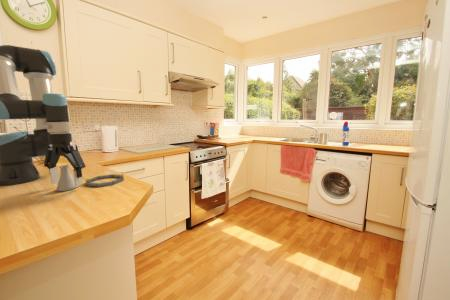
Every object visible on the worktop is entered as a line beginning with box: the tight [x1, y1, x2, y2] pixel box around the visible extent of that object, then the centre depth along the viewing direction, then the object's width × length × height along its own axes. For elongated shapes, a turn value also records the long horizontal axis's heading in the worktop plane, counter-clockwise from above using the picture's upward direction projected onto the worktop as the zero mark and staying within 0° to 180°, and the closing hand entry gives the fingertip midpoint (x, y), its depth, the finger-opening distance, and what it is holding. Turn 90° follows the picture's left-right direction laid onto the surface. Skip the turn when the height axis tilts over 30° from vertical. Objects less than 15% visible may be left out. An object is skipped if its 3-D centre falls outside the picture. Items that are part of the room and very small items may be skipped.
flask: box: [55, 164, 79, 192], centre depth 89 cm, size 7×7×10 cm
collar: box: [85, 173, 125, 188], centre depth 98 cm, size 15×15×2 cm
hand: (66, 184), depth 89 cm, fingers open, 12 cm apart
